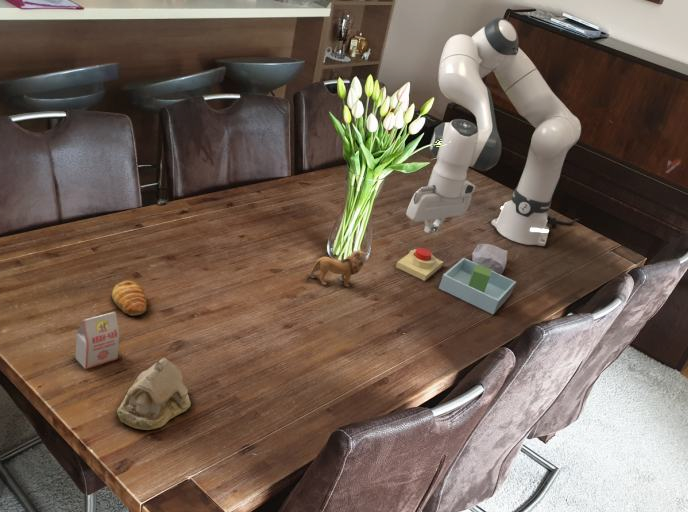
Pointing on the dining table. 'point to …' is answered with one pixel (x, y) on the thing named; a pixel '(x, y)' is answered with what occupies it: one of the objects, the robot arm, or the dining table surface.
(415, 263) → the button housing
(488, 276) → the green block
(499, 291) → the basin
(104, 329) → the tea bag
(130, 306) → the pastry
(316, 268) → the lion figurine
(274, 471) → the dining table surface
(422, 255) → the button
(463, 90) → the robot arm
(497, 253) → the stone block
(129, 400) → the ceramic model
